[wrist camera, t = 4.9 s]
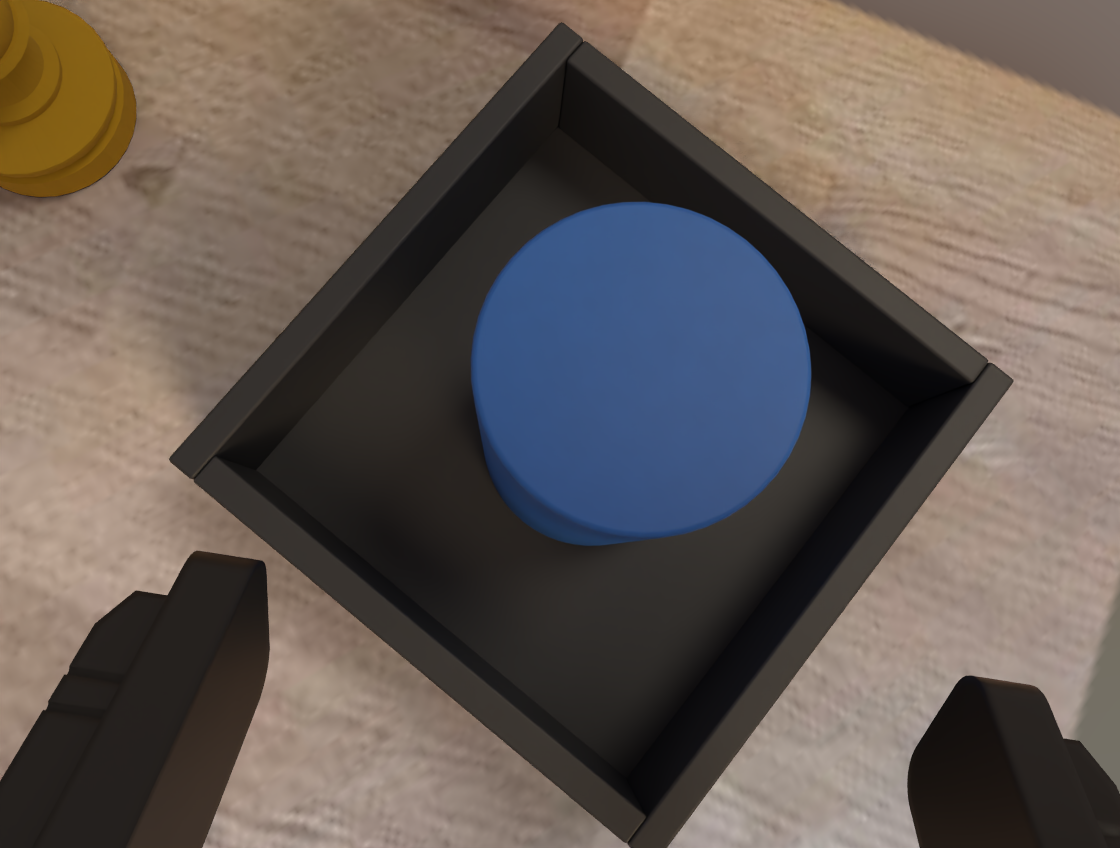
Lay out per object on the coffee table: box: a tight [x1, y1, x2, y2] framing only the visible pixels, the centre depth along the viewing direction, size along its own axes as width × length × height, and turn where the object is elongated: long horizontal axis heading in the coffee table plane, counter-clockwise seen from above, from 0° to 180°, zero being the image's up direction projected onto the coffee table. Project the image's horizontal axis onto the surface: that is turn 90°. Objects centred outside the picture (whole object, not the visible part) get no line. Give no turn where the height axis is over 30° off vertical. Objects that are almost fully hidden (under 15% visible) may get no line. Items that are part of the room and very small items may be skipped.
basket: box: [169, 22, 1013, 848], centre depth 19 cm, size 11×11×4 cm
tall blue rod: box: [471, 202, 811, 546], centre depth 17 cm, size 5×5×8 cm
